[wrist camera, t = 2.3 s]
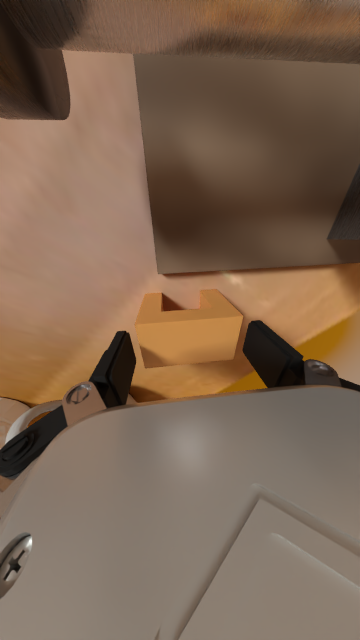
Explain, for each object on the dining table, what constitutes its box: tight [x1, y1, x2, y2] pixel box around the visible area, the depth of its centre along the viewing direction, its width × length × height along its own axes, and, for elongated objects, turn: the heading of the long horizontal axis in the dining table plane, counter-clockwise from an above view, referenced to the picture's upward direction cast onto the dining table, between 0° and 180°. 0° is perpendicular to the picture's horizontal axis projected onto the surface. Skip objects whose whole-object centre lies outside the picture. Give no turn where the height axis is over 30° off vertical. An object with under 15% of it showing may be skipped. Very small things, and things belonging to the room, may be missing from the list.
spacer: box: [135, 289, 243, 368], centre depth 12 cm, size 4×7×6 cm, turn 92°
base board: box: [133, 54, 360, 274], centre depth 8 cm, size 16×20×1 cm
